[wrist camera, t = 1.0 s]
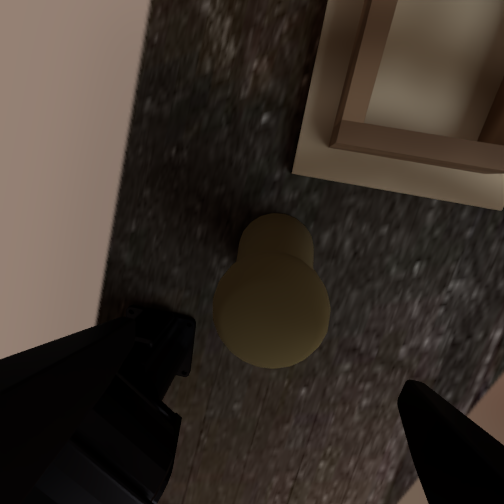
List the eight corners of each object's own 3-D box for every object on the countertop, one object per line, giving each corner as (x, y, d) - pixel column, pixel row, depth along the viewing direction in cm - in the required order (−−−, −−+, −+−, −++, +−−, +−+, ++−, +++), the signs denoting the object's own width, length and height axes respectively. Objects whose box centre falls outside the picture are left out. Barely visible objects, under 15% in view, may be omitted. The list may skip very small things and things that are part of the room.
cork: (234, 216, 20) (178, 262, 9) (311, 209, 19) (349, 249, 8) (243, 286, 21) (206, 392, 11) (315, 282, 20) (350, 393, 10)
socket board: (489, 208, 17) (538, 216, 14) (291, 173, 18) (293, 173, 15) (612, -55, 13) (725, -135, 10) (345, -85, 14) (365, -168, 11)
